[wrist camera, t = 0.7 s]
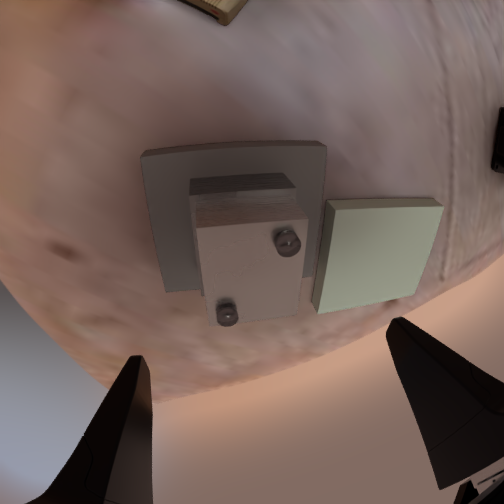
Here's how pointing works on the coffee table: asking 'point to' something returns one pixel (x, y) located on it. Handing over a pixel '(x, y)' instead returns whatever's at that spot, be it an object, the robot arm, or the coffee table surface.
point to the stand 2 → (373, 250)
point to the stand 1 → (223, 164)
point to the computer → (218, 8)
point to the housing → (248, 246)
